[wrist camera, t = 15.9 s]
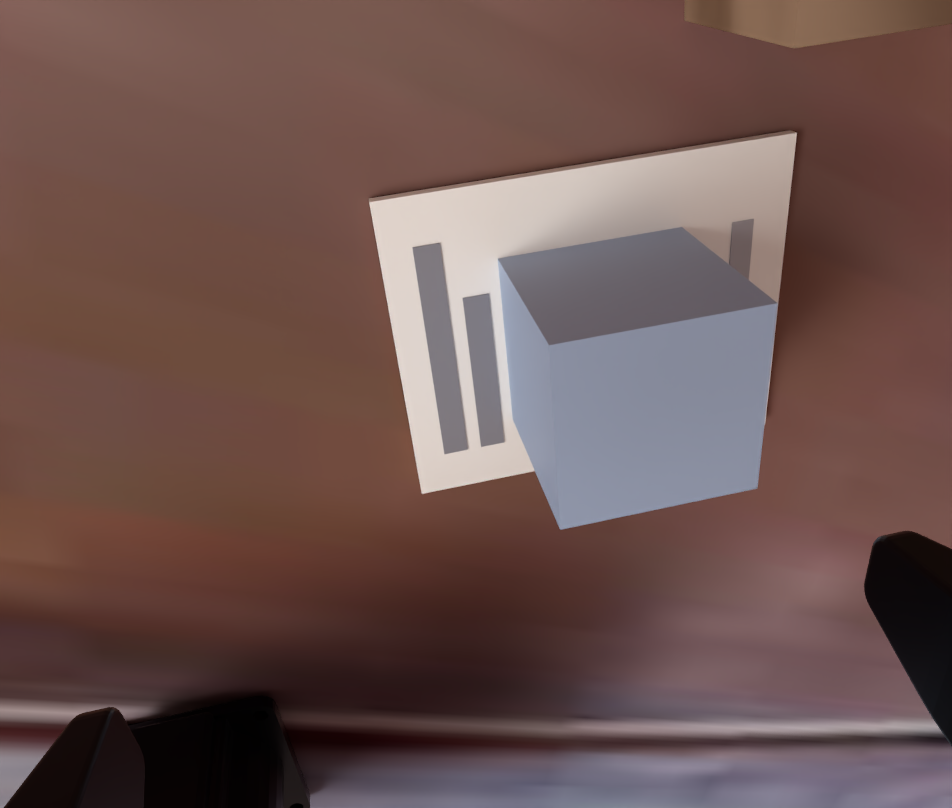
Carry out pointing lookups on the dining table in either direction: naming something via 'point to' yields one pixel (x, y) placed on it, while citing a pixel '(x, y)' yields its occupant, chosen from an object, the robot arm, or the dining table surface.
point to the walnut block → (817, 18)
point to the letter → (537, 229)
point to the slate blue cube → (636, 373)
